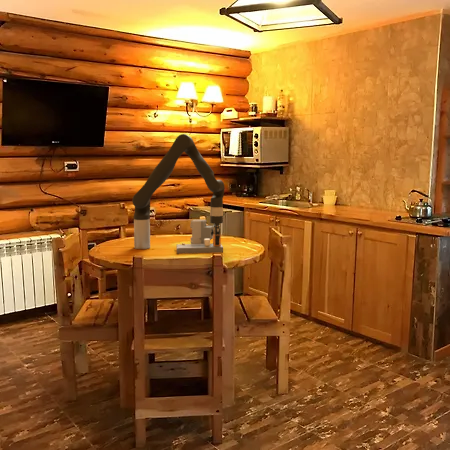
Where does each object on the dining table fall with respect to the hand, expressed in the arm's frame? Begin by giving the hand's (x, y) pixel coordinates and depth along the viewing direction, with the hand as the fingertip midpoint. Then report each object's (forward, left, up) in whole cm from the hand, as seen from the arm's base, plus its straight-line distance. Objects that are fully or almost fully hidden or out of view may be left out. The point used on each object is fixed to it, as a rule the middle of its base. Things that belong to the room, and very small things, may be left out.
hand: (216, 244), depth 296 cm
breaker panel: (-10, 0, -4) cm, 11 cm away
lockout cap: (0, 0, -1) cm, 1 cm away
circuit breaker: (-6, +20, -4) cm, 21 cm away
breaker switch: (-6, 0, 0) cm, 6 cm away
